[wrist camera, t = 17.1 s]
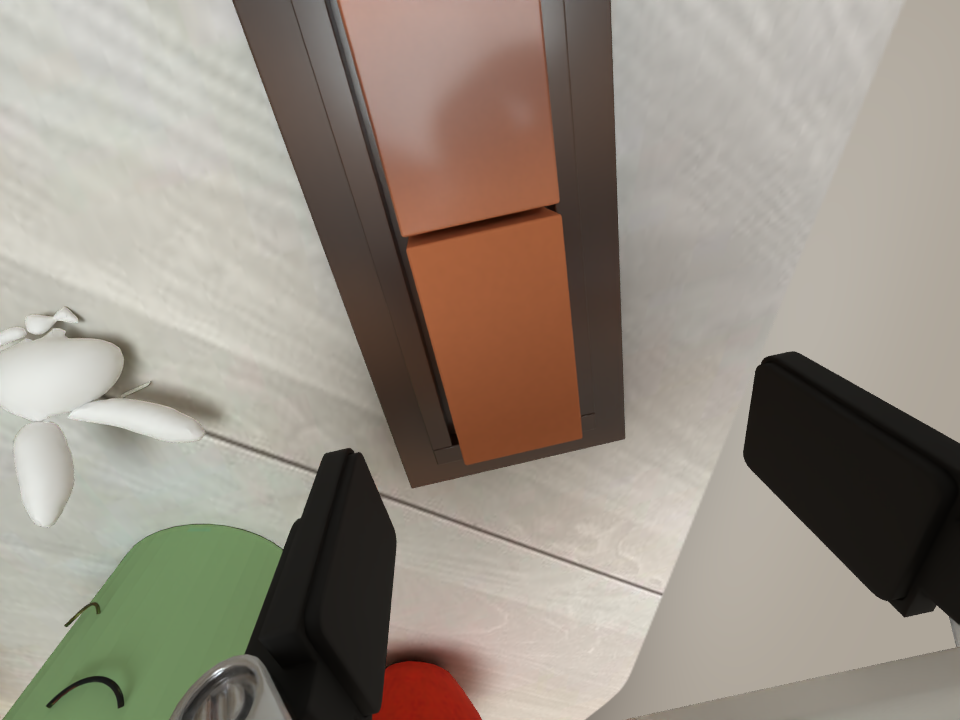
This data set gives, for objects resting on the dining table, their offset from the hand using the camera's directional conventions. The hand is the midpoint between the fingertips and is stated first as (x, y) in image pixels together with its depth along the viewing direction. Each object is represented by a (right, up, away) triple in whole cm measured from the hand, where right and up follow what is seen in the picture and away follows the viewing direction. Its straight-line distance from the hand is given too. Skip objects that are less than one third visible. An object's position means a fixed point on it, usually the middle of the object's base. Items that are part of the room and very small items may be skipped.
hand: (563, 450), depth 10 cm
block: (-1, +4, +9) cm, 10 cm away
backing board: (-2, +8, +8) cm, 12 cm away
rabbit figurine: (-18, +1, +9) cm, 21 cm away
